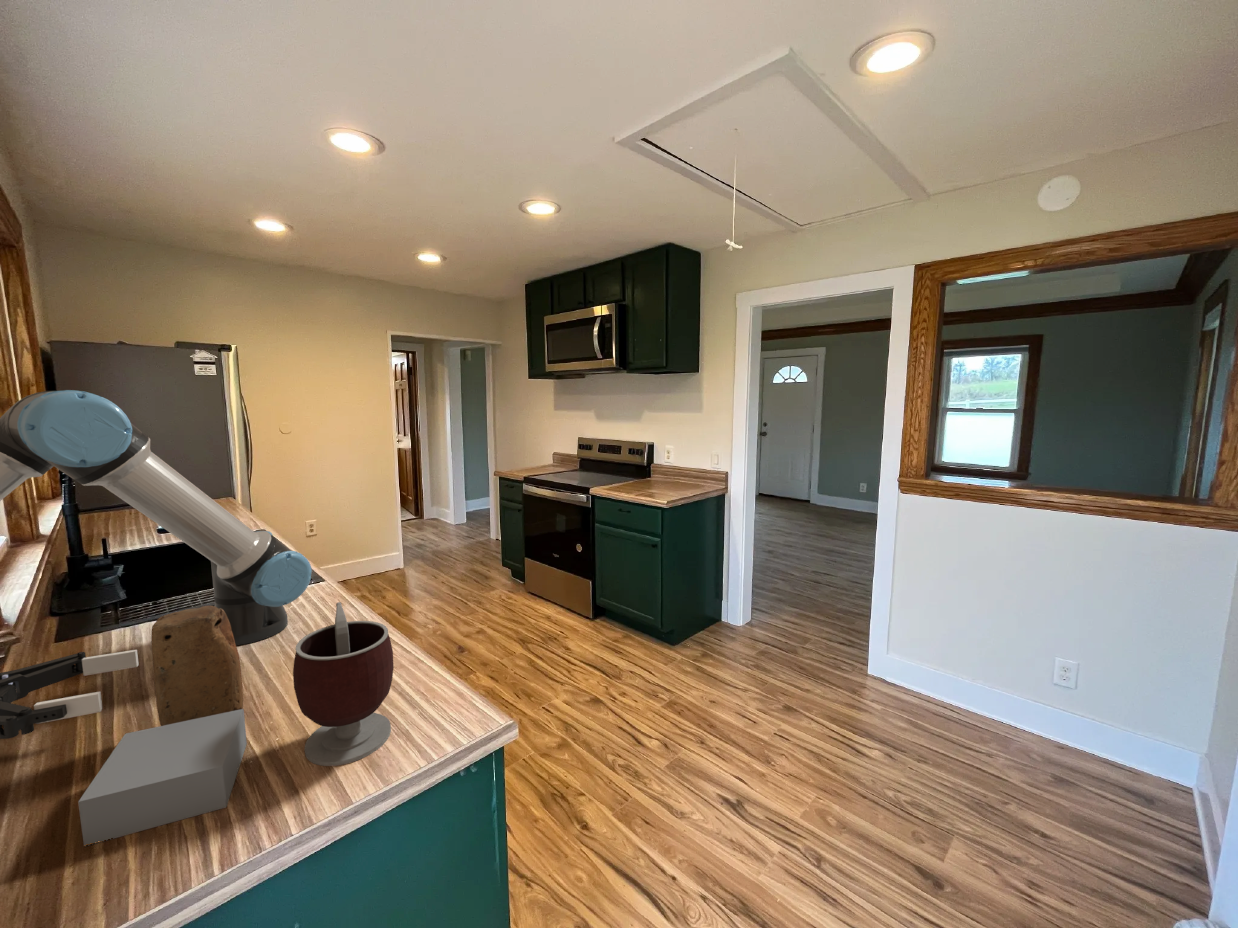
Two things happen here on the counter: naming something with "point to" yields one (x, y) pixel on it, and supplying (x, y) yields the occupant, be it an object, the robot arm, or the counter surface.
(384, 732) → the mate gourd
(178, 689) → the block
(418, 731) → the counter surface
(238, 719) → the grey base block
